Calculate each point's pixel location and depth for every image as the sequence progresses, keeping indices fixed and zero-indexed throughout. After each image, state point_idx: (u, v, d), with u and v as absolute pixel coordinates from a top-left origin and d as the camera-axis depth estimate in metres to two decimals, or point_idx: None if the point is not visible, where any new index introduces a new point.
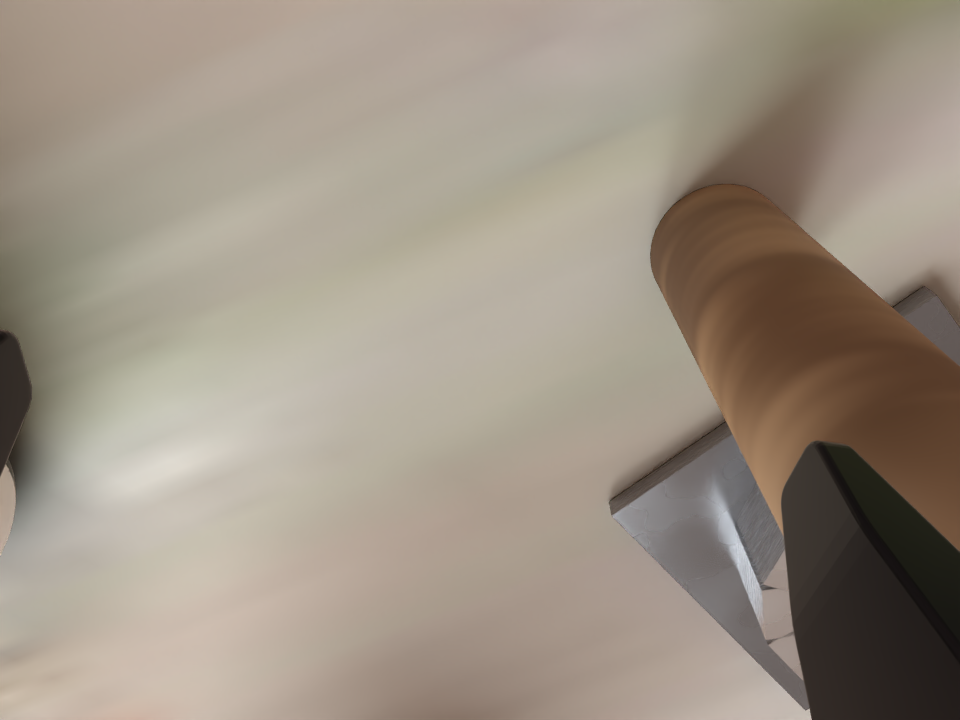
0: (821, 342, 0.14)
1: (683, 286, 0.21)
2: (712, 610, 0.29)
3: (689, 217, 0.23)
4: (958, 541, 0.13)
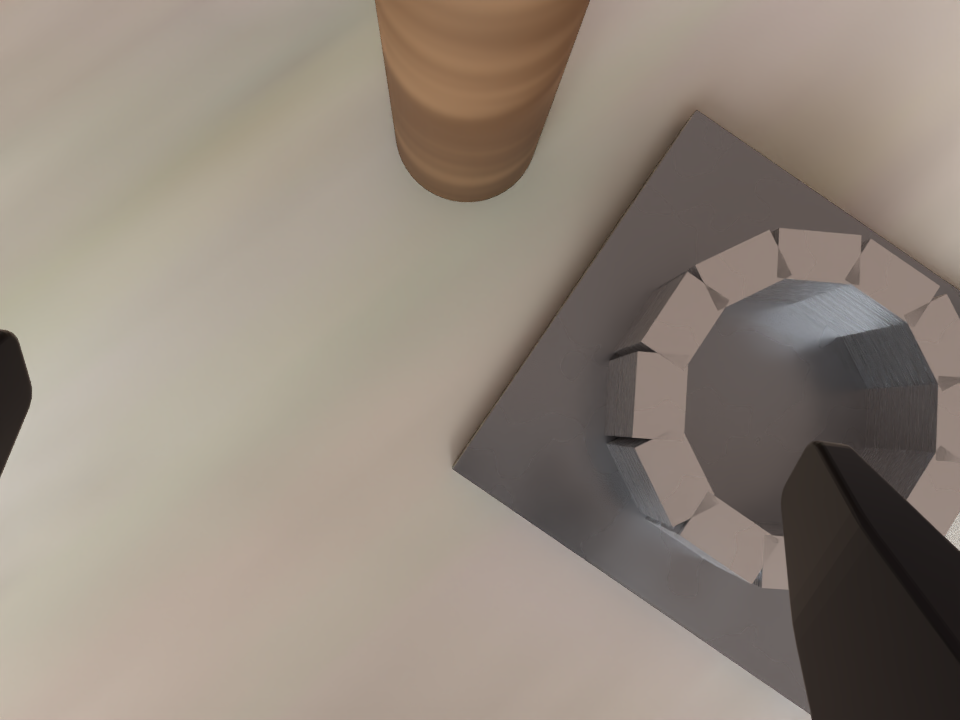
0: None
1: None
2: (630, 582, 0.22)
3: None
4: None
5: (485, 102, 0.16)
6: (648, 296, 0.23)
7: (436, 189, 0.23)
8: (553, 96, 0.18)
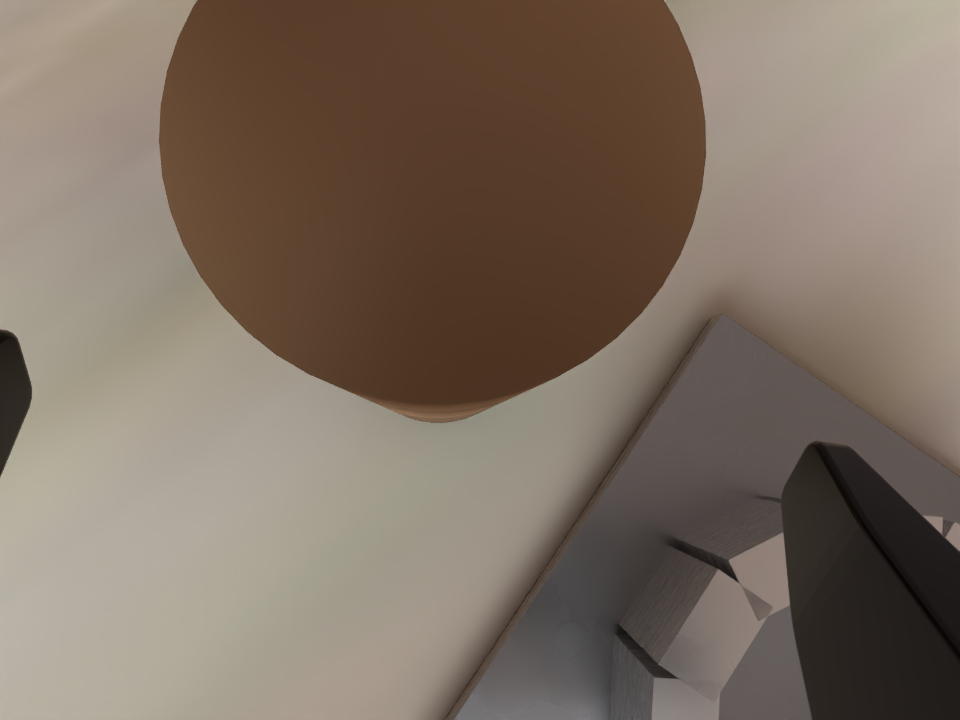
0: None
1: None
2: None
3: None
4: (553, 180, 0.06)
5: None
6: (663, 550, 0.18)
7: None
8: None
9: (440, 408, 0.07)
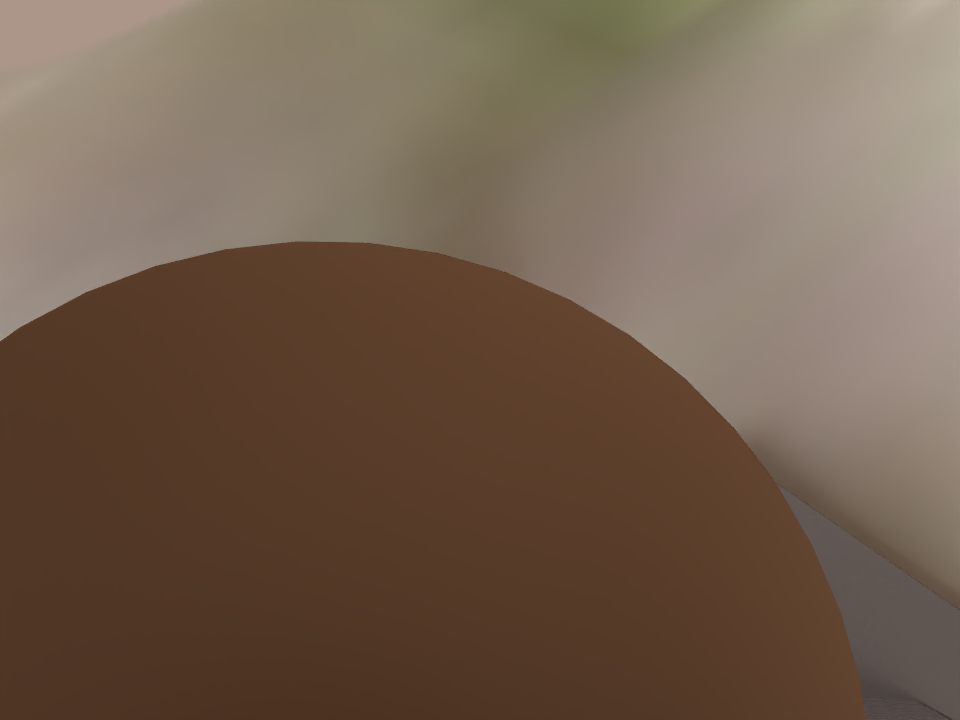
0: None
1: None
2: None
3: None
4: None
5: None
6: None
7: None
8: None
9: None
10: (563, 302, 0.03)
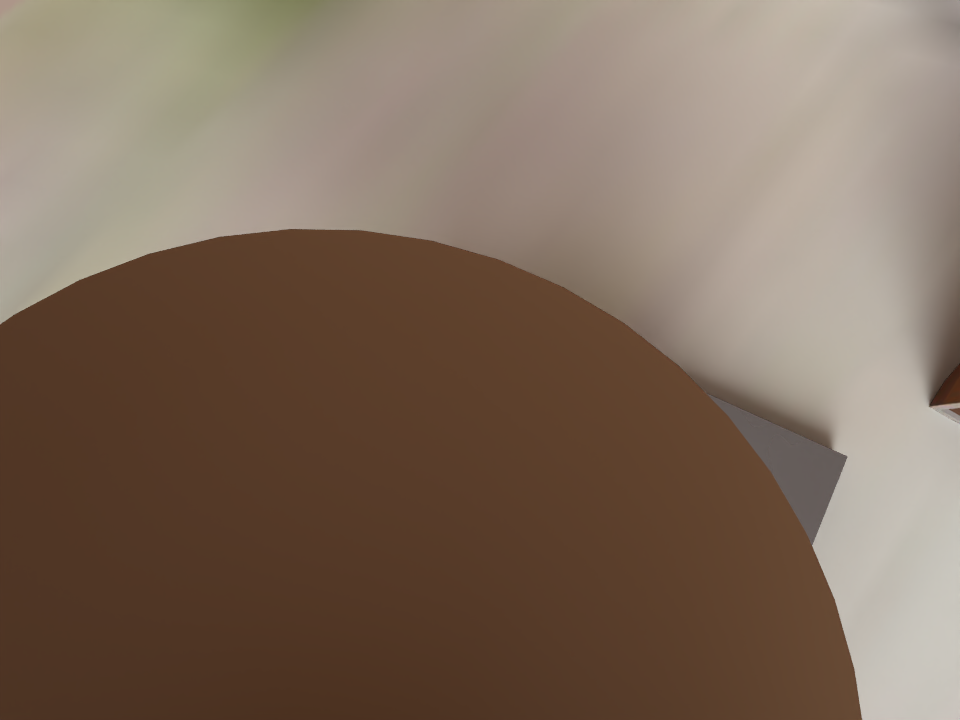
0: None
1: None
2: None
3: None
4: None
5: None
6: None
7: None
8: None
9: None
10: (558, 289, 0.03)
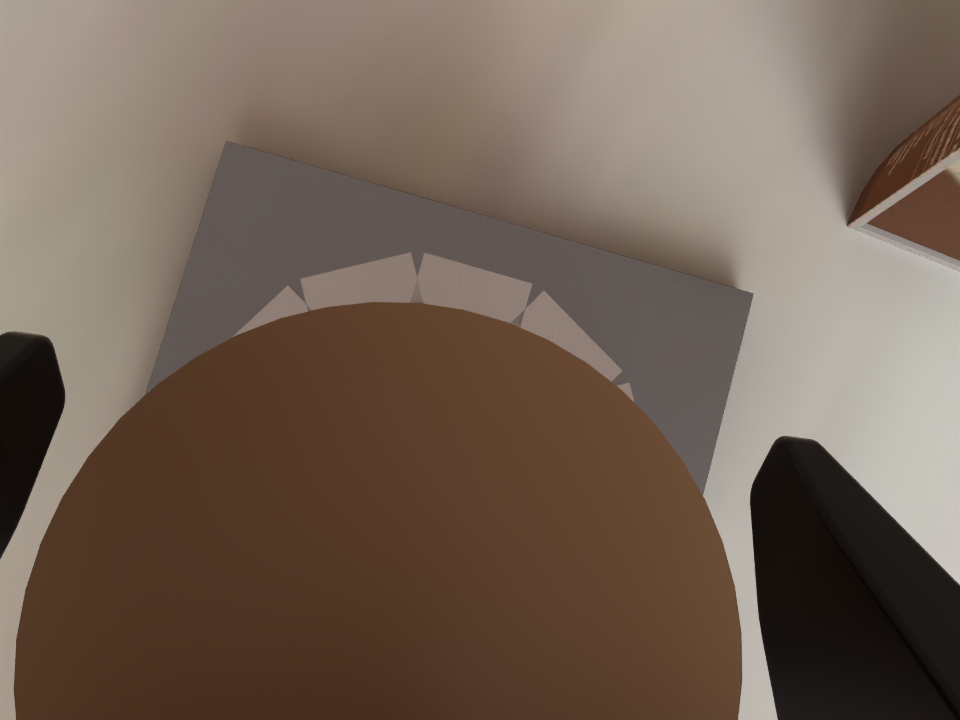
0: None
1: None
2: None
3: None
4: None
5: None
6: None
7: None
8: None
9: None
10: (543, 339, 0.05)
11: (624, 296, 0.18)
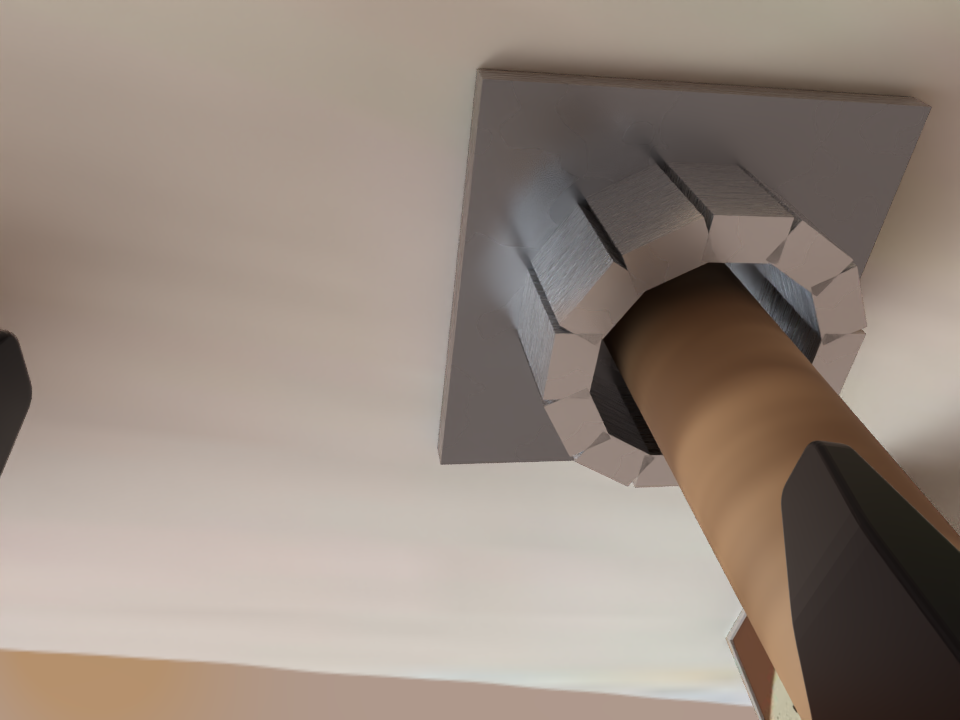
0: (944, 521, 0.15)
1: (721, 323, 0.19)
2: (466, 287, 0.22)
3: (721, 270, 0.22)
4: None
5: (690, 501, 0.18)
6: (731, 163, 0.22)
7: None
8: None
9: (785, 677, 0.14)
10: None
11: None
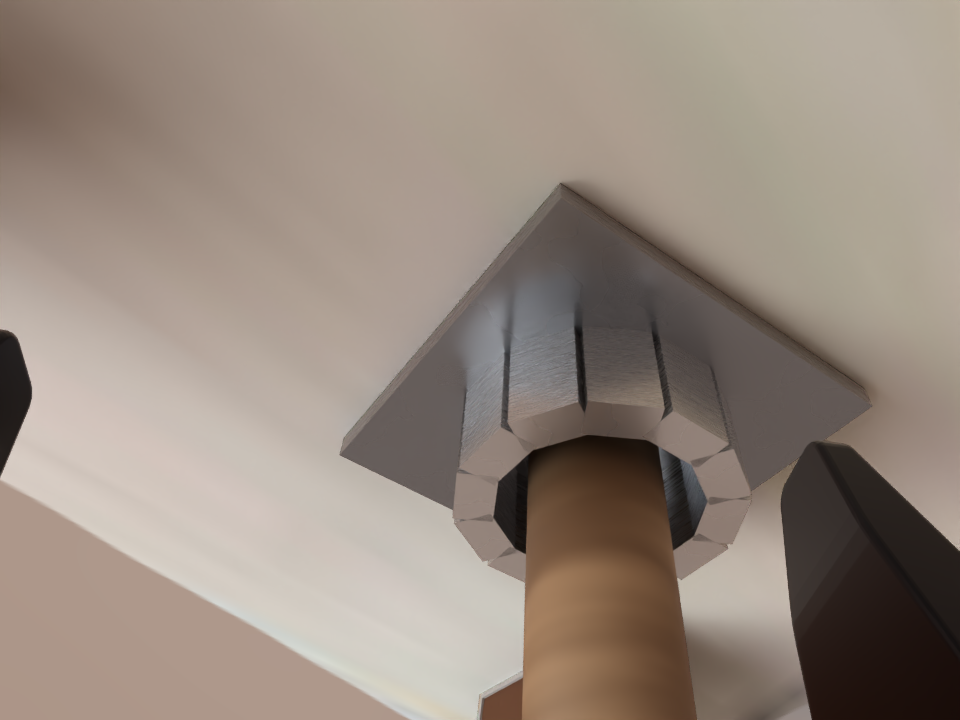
0: None
1: (628, 495, 0.22)
2: (447, 338, 0.24)
3: (651, 442, 0.24)
4: None
5: (527, 623, 0.20)
6: (706, 363, 0.24)
7: None
8: None
9: None
10: None
11: None
